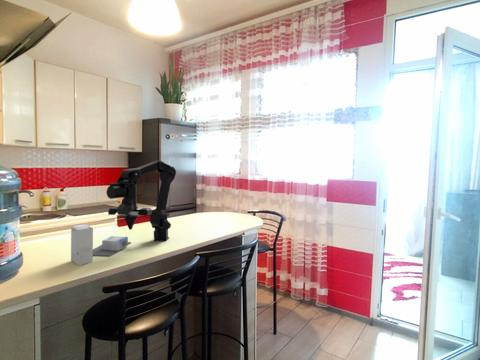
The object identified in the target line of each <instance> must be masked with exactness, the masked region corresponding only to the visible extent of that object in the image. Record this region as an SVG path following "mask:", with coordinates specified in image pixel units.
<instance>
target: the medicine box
mask: <svg viewBox="0 0 480 360" xmlns="http://www.w3.org/2000/svg"><path fill="white" fill-rule="evenodd" d="M128 242H129V238H128V236H118V235H117V236H113V235H111V236H109V237H107V238H104V239H103V240H102V241H101V245H102V249H103V250H119V251H121V250H122V248H123V249H124V248H126V247H128V246H129V245H128Z"/></svg>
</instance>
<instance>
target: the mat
mask: <svg viewBox="0 0 480 360" xmlns="http://www.w3.org/2000/svg"><path fill="white" fill-rule="evenodd" d="M130 244H132V242H131V241H128V246H129V245H130ZM122 249H124V248H122ZM122 249H121V250H122ZM119 251H120V250H103V249H102V244H100V245H99V246H97V247H94V248H93V257H111V256H113V255H114V254H116V253H118V252H119Z"/></svg>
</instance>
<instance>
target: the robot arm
mask: <svg viewBox="0 0 480 360" xmlns="http://www.w3.org/2000/svg"><path fill="white" fill-rule="evenodd" d="M154 171H156V172H157V173H158V176H159V180H160V184H159V185H160V187H159V192H158V196H157V200H156V201H157V202H156V207H155V209H154V210H153V211H152V208H150V207H141V208H139V206H138V205H137V204H138V203H137V201H138V195H137V187H140V186H141V184H140V183H138V181H139V180H141V178H143V176H145V175H147V174H150V173H152V172H154ZM176 175H177V170H176V168H175V167H174V166H171V165H169V164H168V163H165V162H164V161H162V160H153V161H152V162H149V163H146V164H144V165H141V166H138V167H135V168H134V167H133V168H127V169H122V170H121V173H120V175H119V177H118V179H117V180H116V182H115V183H114V182H110V183H109V186H108V187H107V189H106V192H105V193H106V196H107V198H108V199H110V200H111V199H113V200H114V199H120V198H121V202H120V204H119V205H118V206H113V207H111V208H109V209H108V211H107V214H108V216H110V215H111V216H115V215H116V214H117V215H119V217H120V218H121V217H122V219H124V220H125V221H124V222H125V223H126V225H127V227H128V230H132V229H133V227H134V225H135V223H136V220H137V219H138V217H139V216H141V217H143V216H145V217H146V216H149V215H150V216H149V223H150V224H151V228H152V229H154V230H153V242H166V241H167V240H168V239H170V237H169V230H170V229H171V227H172V224H171V222H170V221H169V220H168V214H167V211H166V209H167V205H168V200H169V199H168V198H169V194H170V193H169V192H170V188H171V183H172V182H173V181H174V180H175V177H176Z"/></svg>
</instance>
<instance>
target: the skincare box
mask: <svg viewBox="0 0 480 360" xmlns="http://www.w3.org/2000/svg"><path fill="white" fill-rule="evenodd" d="M70 227H71V229H70V231H71V232H70V233H71V234H70V236H71V237H70V261H71V262H72V263H75V264H76V265H77V266H82V265H86V264H89V263H90V264H91V263H93V262H94V259H93V257H94V256H93V249H94V248H93V247H94V228H93V227H92V226H90V225H87V224H78V225H71V226H70Z"/></svg>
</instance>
